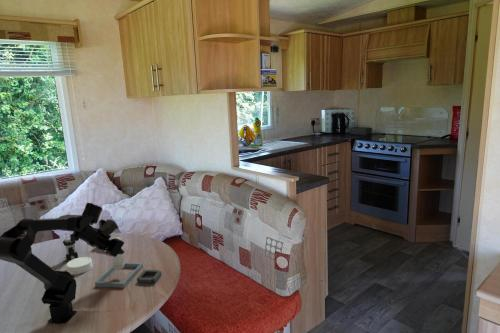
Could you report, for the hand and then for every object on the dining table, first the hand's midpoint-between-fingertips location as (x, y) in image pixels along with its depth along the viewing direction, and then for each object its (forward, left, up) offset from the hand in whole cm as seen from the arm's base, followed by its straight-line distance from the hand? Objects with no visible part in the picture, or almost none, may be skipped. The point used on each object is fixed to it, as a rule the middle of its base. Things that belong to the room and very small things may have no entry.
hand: (120, 251), depth 139 cm
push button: (+13, +33, -11) cm, 37 cm away
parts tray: (-1, +1, -11) cm, 11 cm away
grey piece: (-2, -12, -11) cm, 17 cm away
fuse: (-1, +1, -6) cm, 6 cm away
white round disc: (+5, +23, -12) cm, 26 cm away
